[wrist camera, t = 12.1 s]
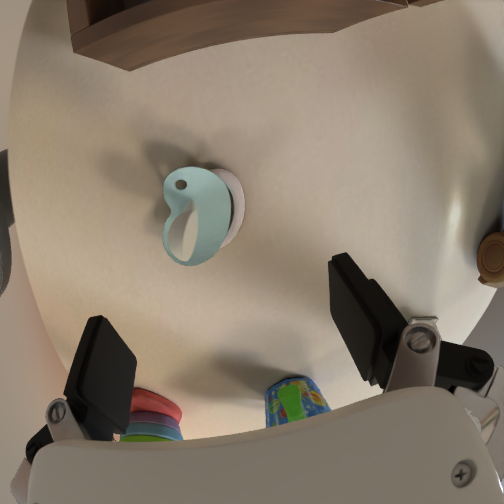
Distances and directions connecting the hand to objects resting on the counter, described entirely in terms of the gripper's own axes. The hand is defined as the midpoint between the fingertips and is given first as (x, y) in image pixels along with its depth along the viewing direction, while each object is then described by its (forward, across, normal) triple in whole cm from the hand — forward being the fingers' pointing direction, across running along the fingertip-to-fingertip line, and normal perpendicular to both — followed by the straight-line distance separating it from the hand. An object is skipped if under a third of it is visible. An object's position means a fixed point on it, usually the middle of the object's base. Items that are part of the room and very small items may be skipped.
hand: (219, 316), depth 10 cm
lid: (-5, -11, -18) cm, 22 cm away
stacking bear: (+12, +19, +27) cm, 35 cm away
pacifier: (+12, +1, 0) cm, 12 cm away
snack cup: (+12, -2, +29) cm, 31 cm away
